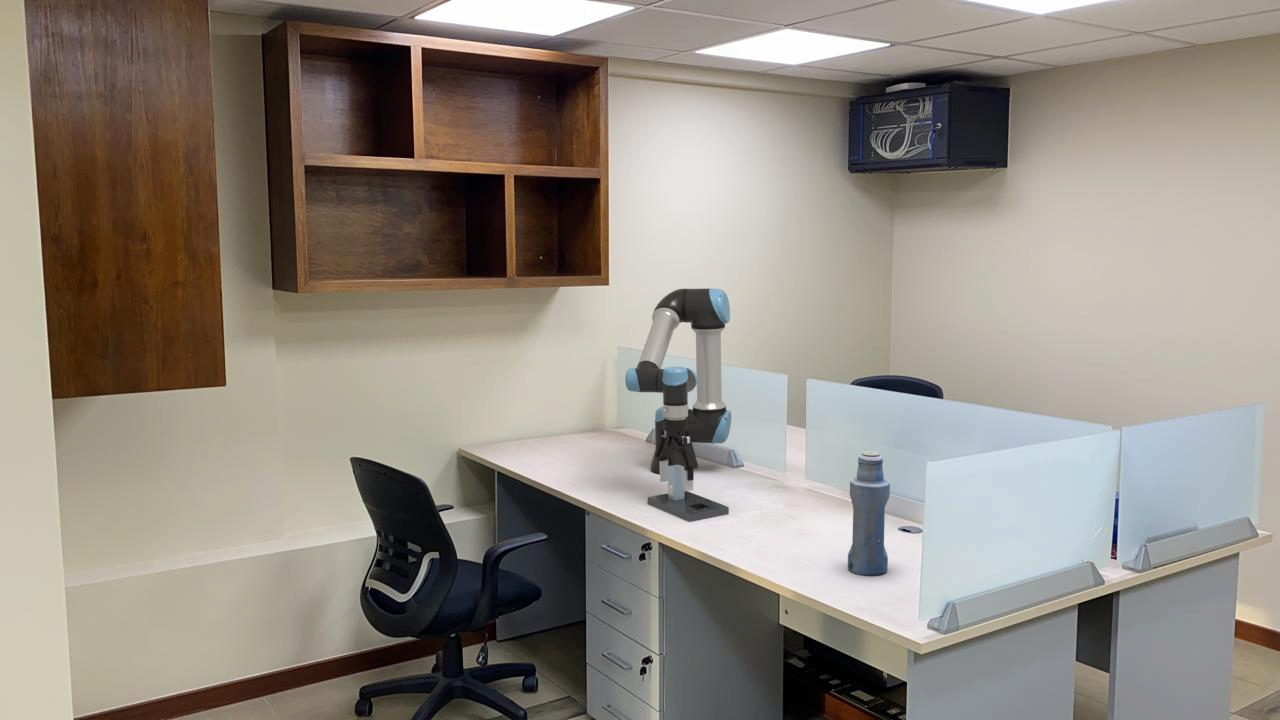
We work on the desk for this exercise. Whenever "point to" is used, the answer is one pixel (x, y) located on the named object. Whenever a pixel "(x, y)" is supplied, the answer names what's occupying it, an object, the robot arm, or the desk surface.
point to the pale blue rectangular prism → (675, 482)
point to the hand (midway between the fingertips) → (676, 485)
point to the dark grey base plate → (689, 506)
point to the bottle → (869, 516)
